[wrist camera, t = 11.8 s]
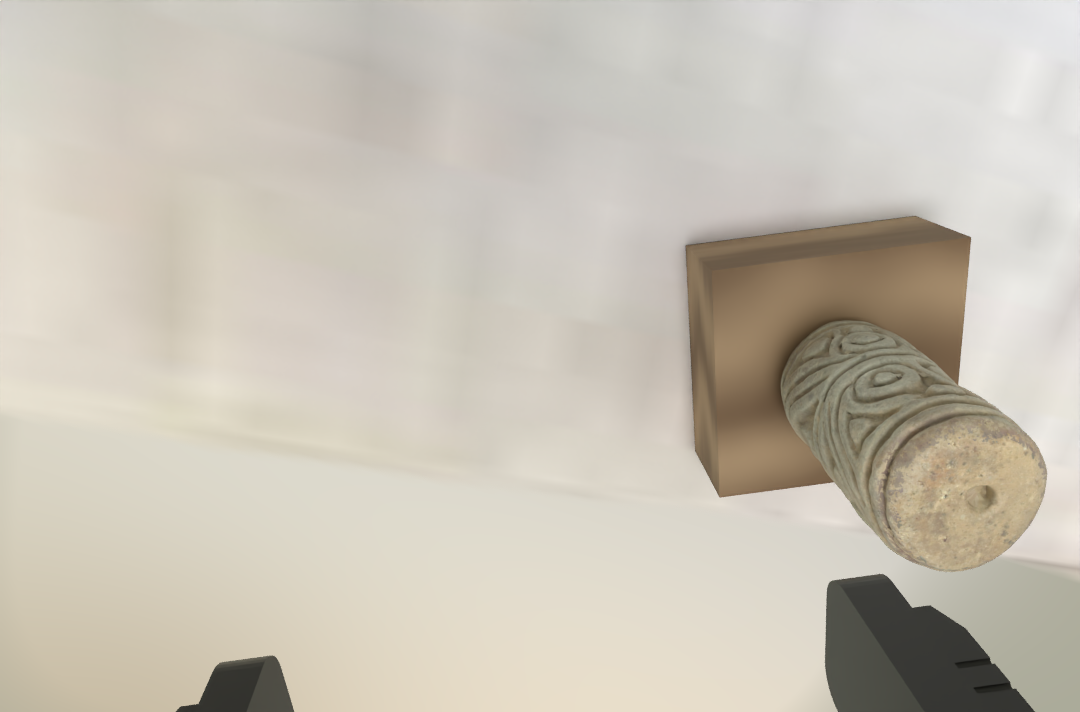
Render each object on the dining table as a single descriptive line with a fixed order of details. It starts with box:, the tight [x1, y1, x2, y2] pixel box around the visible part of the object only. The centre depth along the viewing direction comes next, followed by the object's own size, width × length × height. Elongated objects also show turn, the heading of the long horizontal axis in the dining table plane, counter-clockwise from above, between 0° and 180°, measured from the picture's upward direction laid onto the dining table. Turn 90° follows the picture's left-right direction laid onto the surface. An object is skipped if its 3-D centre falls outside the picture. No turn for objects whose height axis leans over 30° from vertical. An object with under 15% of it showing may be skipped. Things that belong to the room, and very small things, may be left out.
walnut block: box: [686, 216, 971, 497], centre depth 40 cm, size 12×12×5 cm
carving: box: [781, 320, 1047, 572], centre depth 32 cm, size 6×8×12 cm
